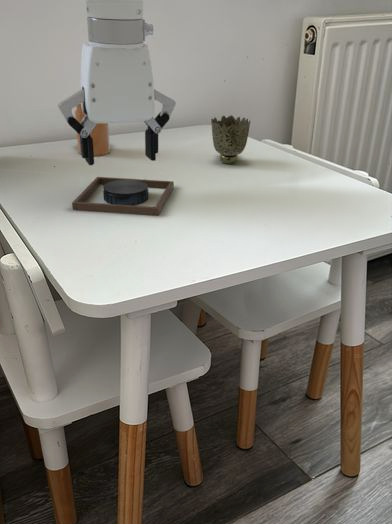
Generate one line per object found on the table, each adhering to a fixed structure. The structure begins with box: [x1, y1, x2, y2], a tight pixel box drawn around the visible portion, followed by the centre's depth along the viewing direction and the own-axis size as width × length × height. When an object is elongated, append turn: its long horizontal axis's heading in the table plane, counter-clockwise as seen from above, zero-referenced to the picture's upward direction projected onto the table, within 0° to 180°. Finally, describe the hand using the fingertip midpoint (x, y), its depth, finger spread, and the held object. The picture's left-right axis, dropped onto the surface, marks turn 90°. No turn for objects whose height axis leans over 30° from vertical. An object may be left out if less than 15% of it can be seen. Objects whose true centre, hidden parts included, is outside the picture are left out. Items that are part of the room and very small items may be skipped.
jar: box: [74, 104, 111, 157], centre depth 112 cm, size 6×6×10 cm
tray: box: [71, 176, 175, 217], centre depth 89 cm, size 13×13×2 cm
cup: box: [210, 114, 251, 165], centre depth 108 cm, size 8×7×8 cm
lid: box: [102, 180, 150, 206], centre depth 88 cm, size 7×7×2 cm
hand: (120, 160), depth 86 cm, fingers open, 9 cm apart
